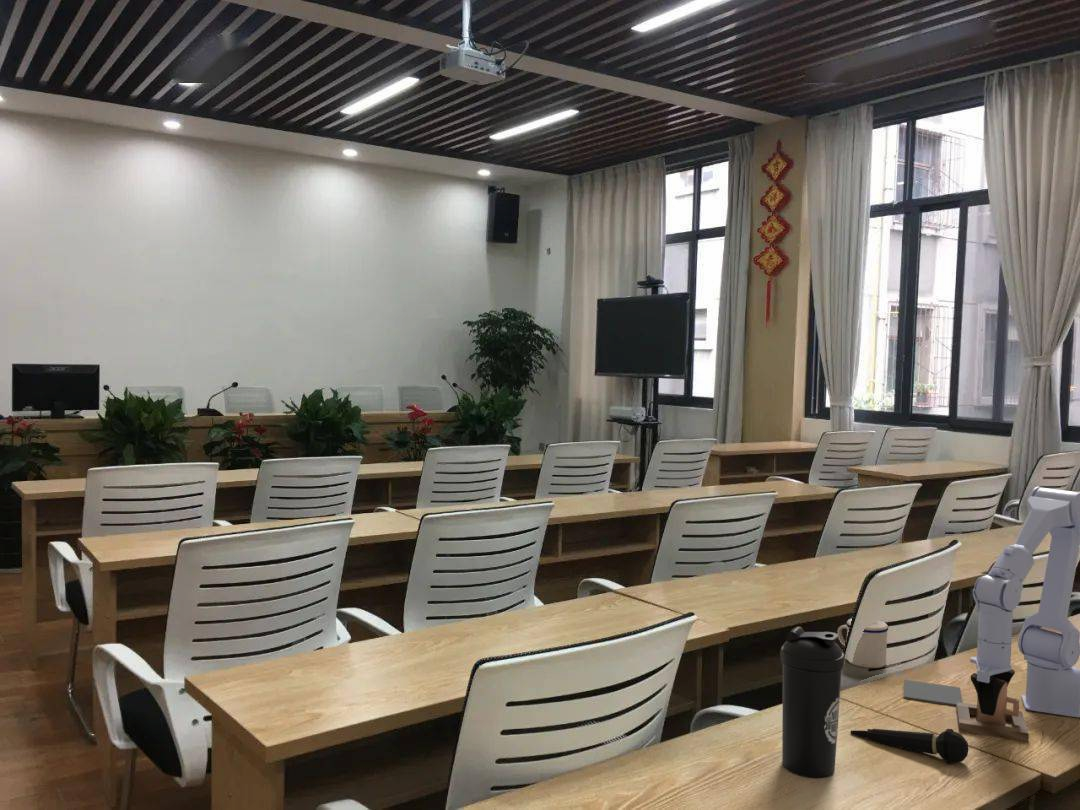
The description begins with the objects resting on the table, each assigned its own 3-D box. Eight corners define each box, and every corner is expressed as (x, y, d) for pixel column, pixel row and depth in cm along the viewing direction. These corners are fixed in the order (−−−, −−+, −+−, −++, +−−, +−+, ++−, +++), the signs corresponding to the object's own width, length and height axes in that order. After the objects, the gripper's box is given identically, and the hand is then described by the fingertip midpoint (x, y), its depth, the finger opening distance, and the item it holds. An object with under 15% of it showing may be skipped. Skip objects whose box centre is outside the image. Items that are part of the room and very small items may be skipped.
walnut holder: (1021, 719, 174) (1021, 711, 174) (1028, 741, 163) (1028, 733, 163) (956, 709, 178) (956, 701, 178) (958, 730, 168) (959, 722, 168)
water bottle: (831, 786, 144) (836, 645, 143) (769, 770, 149) (773, 633, 148) (846, 763, 153) (851, 630, 152) (787, 748, 158) (791, 619, 157)
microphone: (849, 754, 164) (967, 773, 151) (843, 727, 162) (961, 744, 150) (858, 736, 168) (973, 753, 156) (852, 709, 167) (968, 724, 154)
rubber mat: (960, 689, 190) (960, 687, 190) (962, 707, 180) (962, 705, 180) (904, 681, 194) (904, 679, 194) (903, 698, 184) (903, 696, 184)
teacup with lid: (894, 664, 205) (896, 613, 205) (872, 671, 200) (874, 620, 199) (848, 650, 215) (850, 602, 214) (826, 657, 209) (827, 607, 209)
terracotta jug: (969, 721, 171) (971, 680, 171) (976, 714, 175) (978, 673, 174) (1014, 733, 166) (1016, 690, 166) (1020, 725, 170) (1022, 683, 169)
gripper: (982, 627, 178) (979, 694, 179) (960, 643, 167) (957, 715, 168) (1021, 634, 174) (1018, 703, 174) (1002, 651, 163) (998, 725, 163)
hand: (991, 709), depth 171 cm, fingers closed on terracotta jug, 5 cm apart
